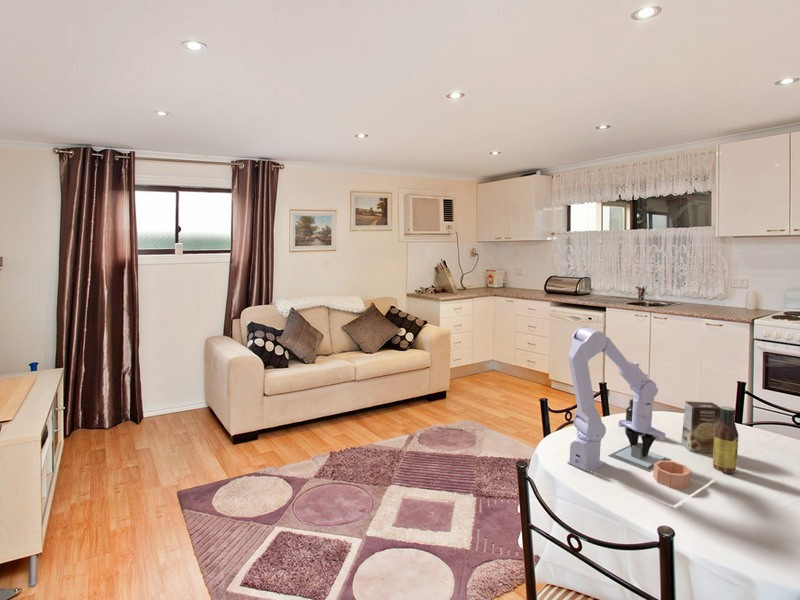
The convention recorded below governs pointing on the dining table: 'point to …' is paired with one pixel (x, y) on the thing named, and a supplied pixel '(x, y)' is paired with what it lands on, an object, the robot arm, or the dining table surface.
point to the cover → (639, 456)
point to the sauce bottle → (726, 441)
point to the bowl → (671, 474)
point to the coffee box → (700, 426)
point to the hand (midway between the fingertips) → (639, 453)
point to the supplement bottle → (630, 413)
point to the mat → (633, 463)
